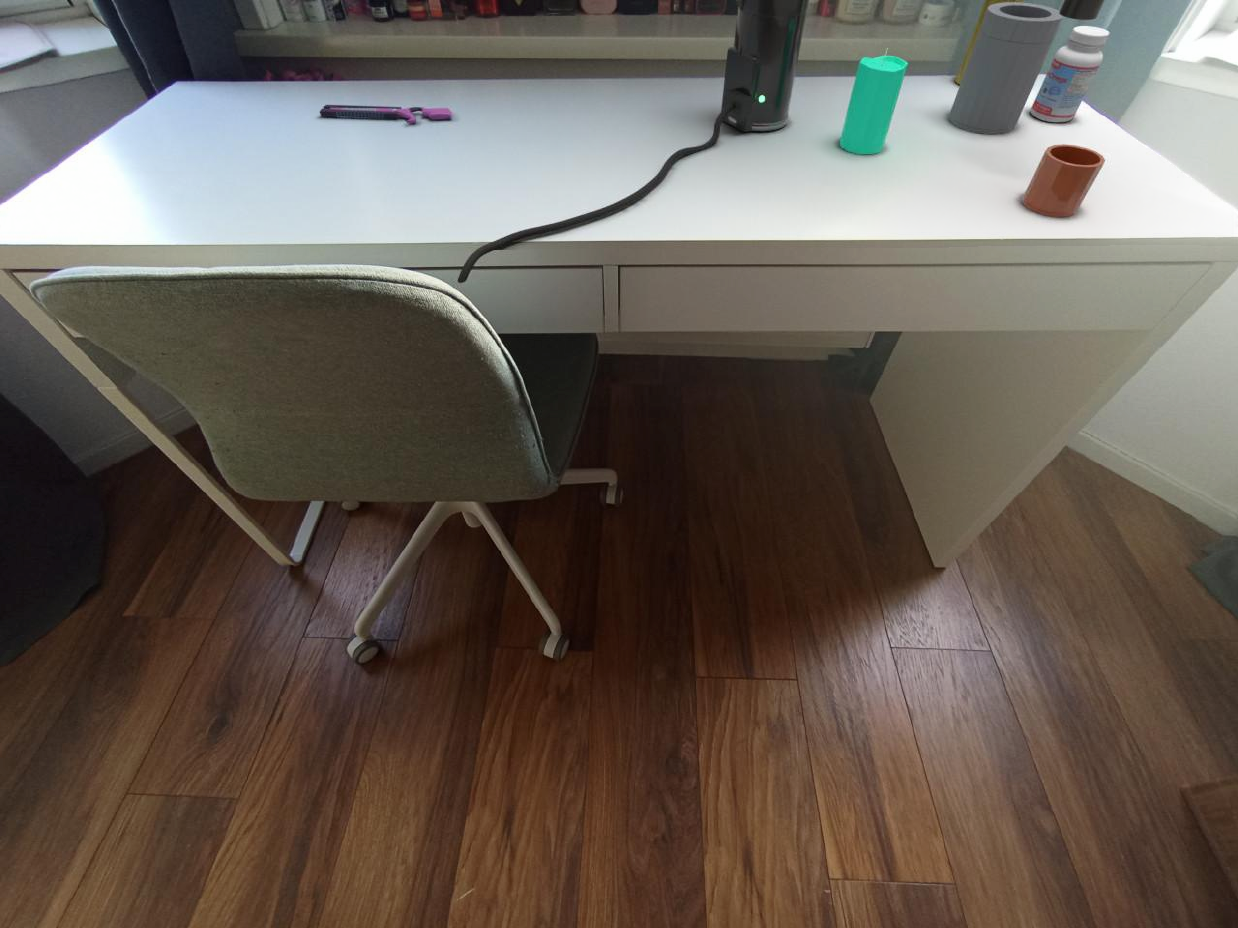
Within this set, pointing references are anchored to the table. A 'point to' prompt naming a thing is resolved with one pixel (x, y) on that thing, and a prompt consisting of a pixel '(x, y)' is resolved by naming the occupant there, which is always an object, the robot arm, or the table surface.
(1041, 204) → the holder
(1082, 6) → the bottle brush
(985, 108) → the gray cylindrical container
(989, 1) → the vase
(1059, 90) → the pill bottle
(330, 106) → the pink toy gun
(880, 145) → the candle
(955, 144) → the table surface
